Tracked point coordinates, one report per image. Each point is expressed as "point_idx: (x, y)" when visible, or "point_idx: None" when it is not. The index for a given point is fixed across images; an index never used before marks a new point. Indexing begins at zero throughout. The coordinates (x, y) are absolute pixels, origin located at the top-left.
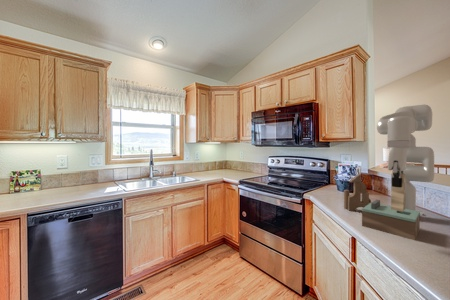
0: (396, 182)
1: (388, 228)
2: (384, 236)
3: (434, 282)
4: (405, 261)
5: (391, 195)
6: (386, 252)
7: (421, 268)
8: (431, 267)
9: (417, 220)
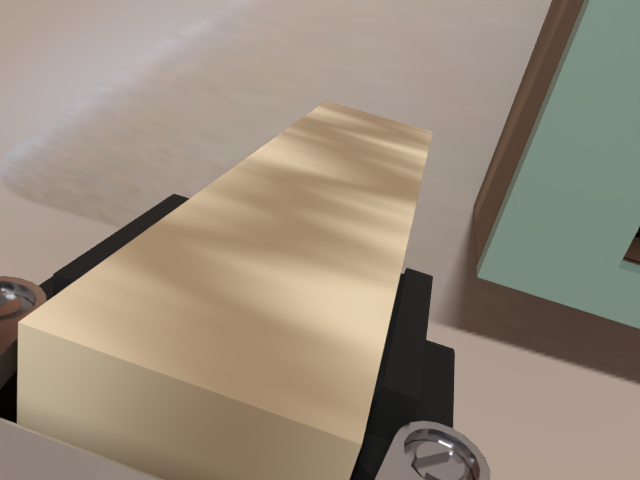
0: None
1: (535, 66)
2: (492, 30)
3: (60, 182)
4: (168, 109)
5: (272, 142)
6: (213, 25)
7: (146, 164)
8: None
9: None
